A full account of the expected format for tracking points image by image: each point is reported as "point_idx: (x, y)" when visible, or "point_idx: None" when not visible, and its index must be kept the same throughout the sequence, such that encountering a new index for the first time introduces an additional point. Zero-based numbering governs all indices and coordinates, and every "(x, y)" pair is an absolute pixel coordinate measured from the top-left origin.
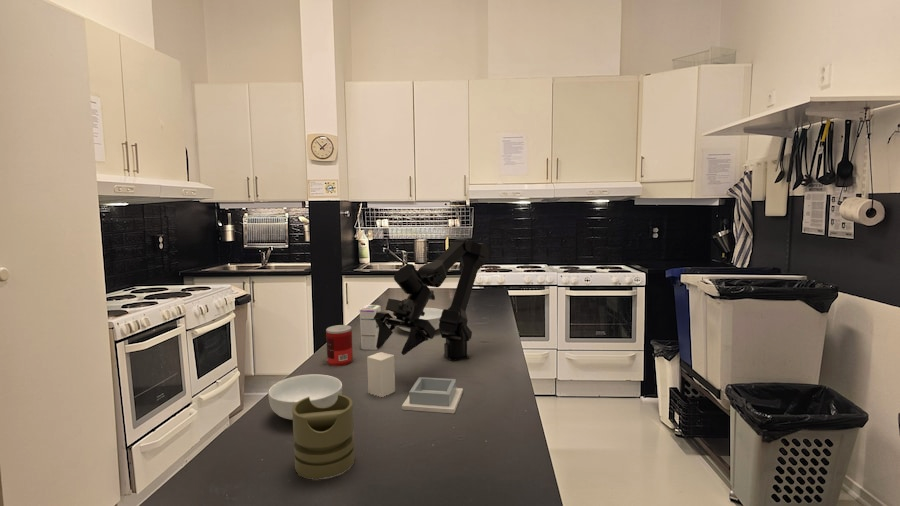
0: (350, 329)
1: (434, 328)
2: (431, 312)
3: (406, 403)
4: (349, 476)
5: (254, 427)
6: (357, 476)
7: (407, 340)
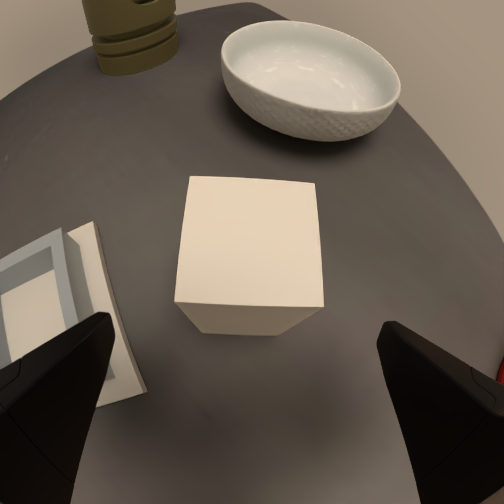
0: None
1: None
2: None
3: (87, 240)
4: (94, 60)
5: None
6: (85, 64)
7: (37, 372)
